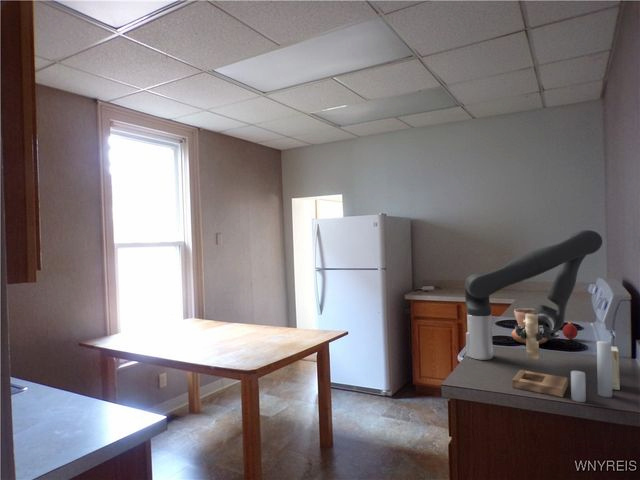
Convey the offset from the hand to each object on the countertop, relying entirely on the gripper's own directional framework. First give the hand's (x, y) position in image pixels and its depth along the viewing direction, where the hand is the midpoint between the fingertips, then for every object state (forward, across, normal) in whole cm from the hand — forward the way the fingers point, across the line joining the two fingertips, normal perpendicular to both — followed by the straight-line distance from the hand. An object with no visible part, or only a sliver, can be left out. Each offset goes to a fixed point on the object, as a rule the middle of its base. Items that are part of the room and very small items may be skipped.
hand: (530, 337), depth 129 cm
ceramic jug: (-56, -11, +17) cm, 59 cm away
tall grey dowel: (-6, +19, +17) cm, 26 cm away
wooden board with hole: (-3, +2, +16) cm, 17 cm away
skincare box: (-15, +20, +17) cm, 30 cm away
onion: (-68, +3, +17) cm, 70 cm away
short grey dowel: (+2, +13, +16) cm, 21 cm away
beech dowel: (-3, 0, +8) cm, 8 cm away
